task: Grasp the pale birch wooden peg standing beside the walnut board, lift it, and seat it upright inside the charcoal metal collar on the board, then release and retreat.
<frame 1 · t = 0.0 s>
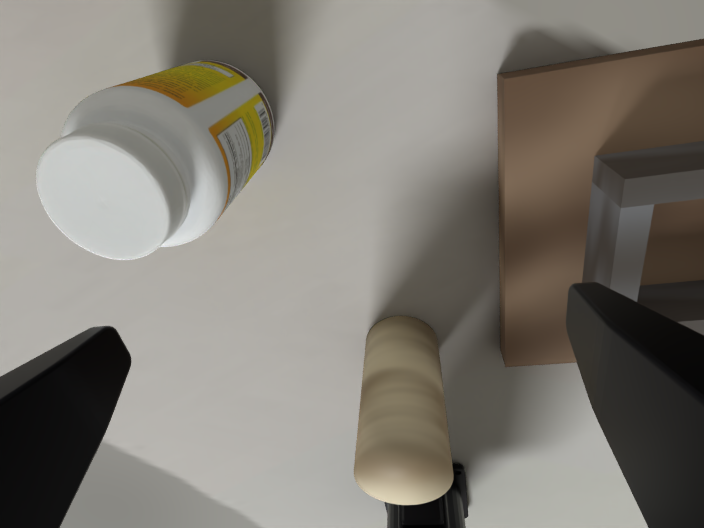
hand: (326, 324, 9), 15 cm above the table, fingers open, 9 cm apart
supplement bottle: (223, 120, 22), on the table
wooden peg: (401, 344, 28), on the table
collar socket: (664, 216, 22), on the table
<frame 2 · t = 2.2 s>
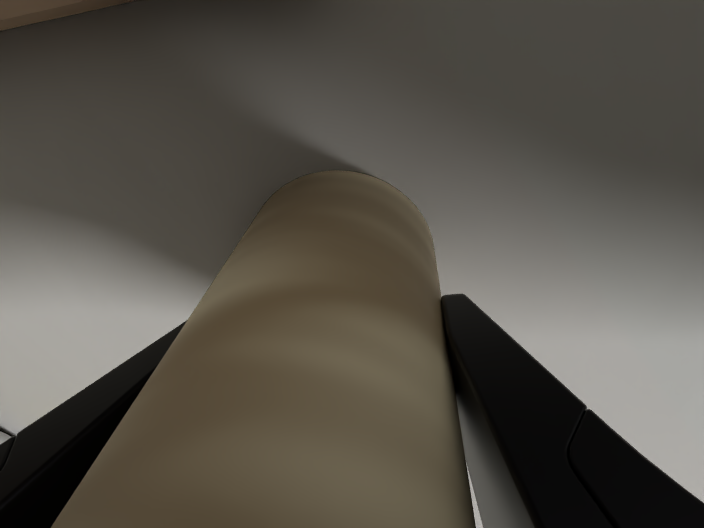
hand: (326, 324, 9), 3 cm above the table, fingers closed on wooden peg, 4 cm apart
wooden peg: (341, 259, 11), on the table, touching gripper
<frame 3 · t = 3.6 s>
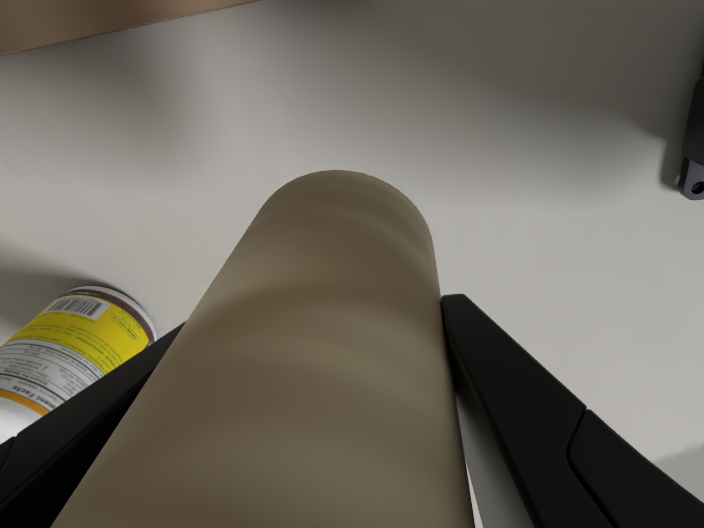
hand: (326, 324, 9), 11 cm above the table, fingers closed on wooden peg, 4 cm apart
supplement bottle: (113, 321, 24), on the table
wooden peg: (340, 259, 11), point 8 cm above the table, touching gripper
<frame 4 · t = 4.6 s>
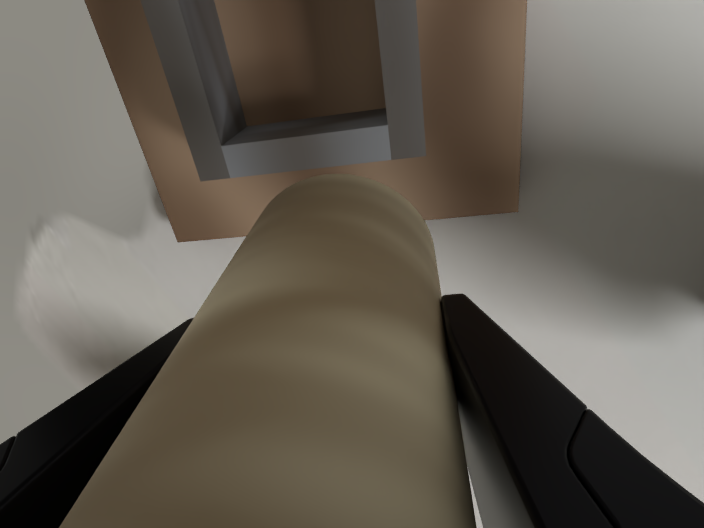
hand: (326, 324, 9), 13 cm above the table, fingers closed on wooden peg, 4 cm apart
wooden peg: (341, 262, 11), point 10 cm above the table, touching gripper
collar socket: (309, 32, 18), on the table
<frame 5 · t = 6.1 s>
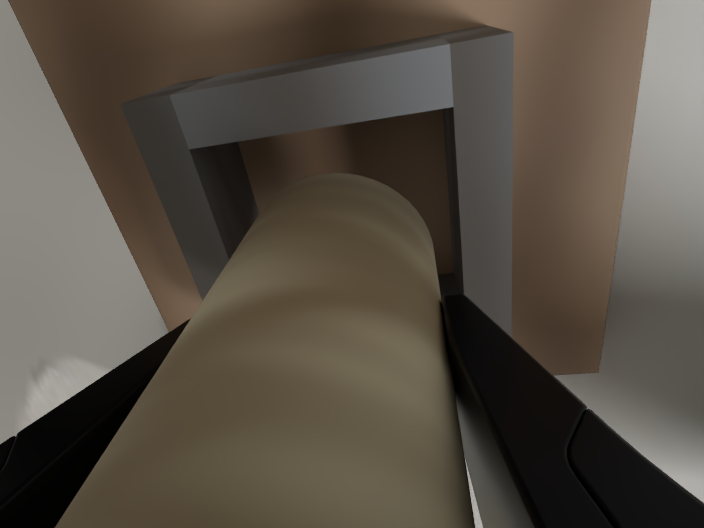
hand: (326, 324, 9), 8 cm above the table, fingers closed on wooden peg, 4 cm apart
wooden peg: (341, 261, 11), point 5 cm above the table, touching gripper
collar socket: (354, 184, 15), on the table
when the fingers open (5 cm above the table, at t = 7.0 s): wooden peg drops 1 cm, resting on collar socket.
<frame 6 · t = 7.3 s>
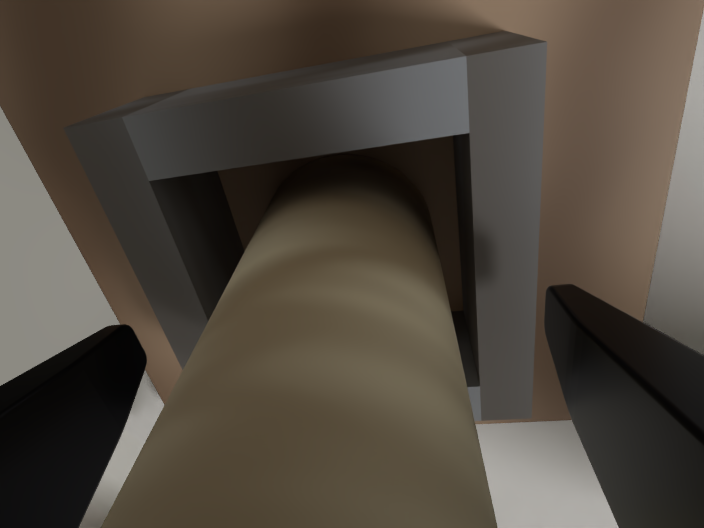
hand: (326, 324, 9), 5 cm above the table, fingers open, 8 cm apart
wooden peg: (348, 235, 12), point 2 cm above the table, touching collar socket
collar socket: (350, 209, 13), on the table
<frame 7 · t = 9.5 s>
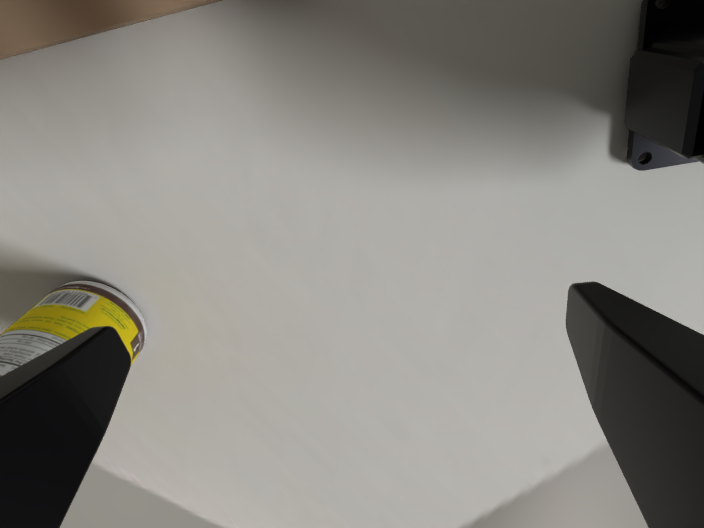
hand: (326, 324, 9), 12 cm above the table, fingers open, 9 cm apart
supplement bottle: (105, 315, 25), on the table
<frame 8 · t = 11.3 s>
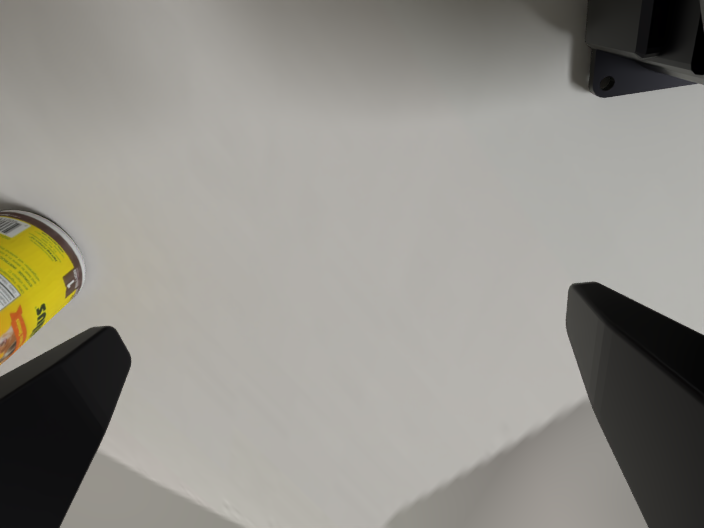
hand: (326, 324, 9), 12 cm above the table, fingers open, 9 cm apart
supplement bottle: (42, 251, 23), on the table
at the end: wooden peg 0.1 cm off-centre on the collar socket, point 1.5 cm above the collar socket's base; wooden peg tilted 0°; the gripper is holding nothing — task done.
